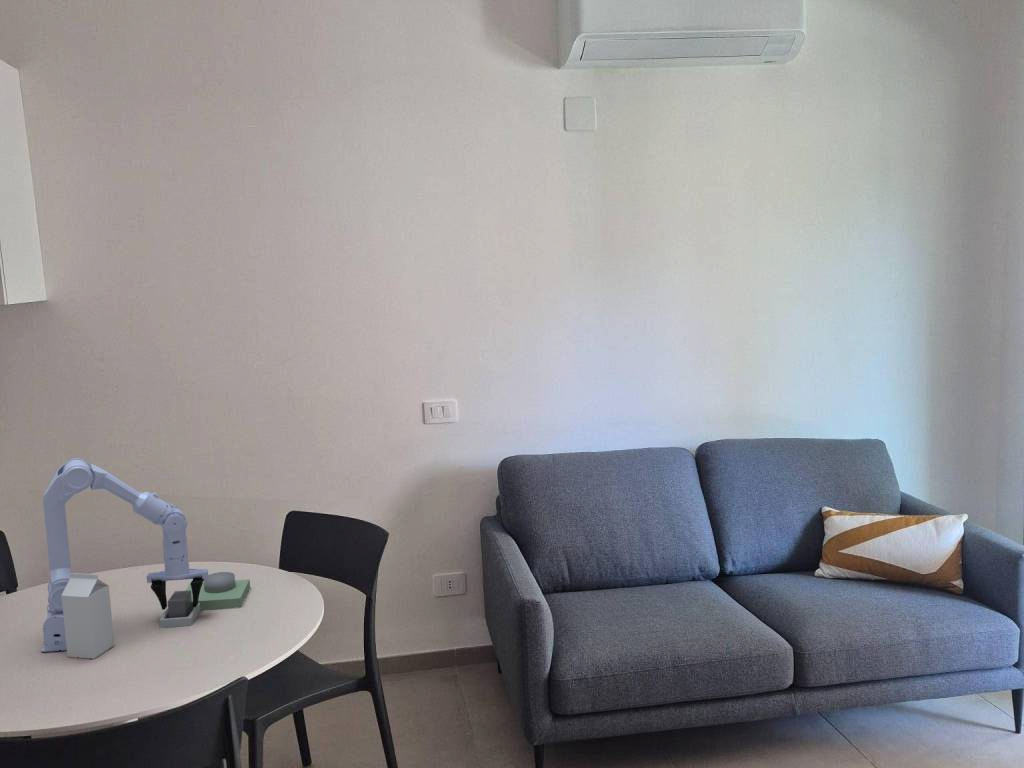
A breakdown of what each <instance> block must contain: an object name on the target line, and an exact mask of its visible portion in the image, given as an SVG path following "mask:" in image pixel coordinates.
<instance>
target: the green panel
mask: <svg viewBox="0 0 1024 768" xmlns="http://www.w3.org/2000/svg"><path fill="white" fill-rule="evenodd" d="M235 578H236V576H235V574H234V572H231V571H221V572H215V573H210V574H208V577H207V579H204V581H203V584H202V587H201V590H200V594H199V599H198V605H197V607H193V594H192V589H191V584H190V583H189V585H188V586H187V587H186V589H185V590H184V591H188V590H191V597H192V612H191V613H190V615H189V617H180V618H169V613H168V607H166V609H165V610H164V612H163V614H162V616H160V618H159V622H158V623H159V629H160V628H161V629H163V628H165V629H166V628H176V627H177V628H178V627H191V626H192V625H193V624H194V622H195V620H196V619H197V617H198V616H199V614H200V612H201V611H210V610H222V609H223V608H225V609H234V608H233V607H239V608H242V606H243V604H244V602H245V600H246V598H247V596H246V595H248V594H247V593H249V592H248V591H250V590H251V580H250V579H248V578H247V579H235ZM249 589H250V590H249ZM245 597H246V598H245ZM244 599H245V600H244ZM243 601H244V602H243ZM242 603H243V604H242ZM241 605H242V606H241ZM221 608H222V609H221ZM223 610H224V609H223Z"/></svg>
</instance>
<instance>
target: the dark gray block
mask: <svg viewBox="0 0 1024 768" xmlns="http://www.w3.org/2000/svg"><path fill="white" fill-rule="evenodd" d="M167 608H168V613H169V618H180V617H189V615H190V613H191V612H192V597H191V590H188V591H185V590H177V591H174V592H173V593H172V595H171V596H170V598H168V599H167Z"/></svg>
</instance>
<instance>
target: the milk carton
mask: <svg viewBox="0 0 1024 768" xmlns="http://www.w3.org/2000/svg"><path fill="white" fill-rule="evenodd" d="M70 576H71V578H70V580H69V582H68V584H67V585H66V587H65V589H64V591H63V593H62V595H61V596H62V606H63V616H64V626H65V635H66V645H67V650H66V654H67V657H68V658H77V657H79V658H80V659H90V658H91V659H92V660H93V659H95V658H98V657H99V656H101V655H102V654H104V653H105V652H107V651H108V650H111V648H113V647H114V646H115V639H114V627H113V618H112V608H111V606H112V605H111V596H110V587H109V586H110V585H109V584H107V583H106V582H103V581H102V580H100V579H99V577H98V574H97V573H96V574H95V573H94V574H93V573H79V572H71V573H70Z"/></svg>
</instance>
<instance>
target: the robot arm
mask: <svg viewBox="0 0 1024 768" xmlns="http://www.w3.org/2000/svg"><path fill="white" fill-rule="evenodd" d="M89 487H90V490H91V491H95V490H101V489H102V490H105V491H106V492H109V493H111V494H112V495H114V496H117V497H118V498H120V499H122V500H124V501H126V502H127V503H129V504H131V506H132V510H133V512H134V513H135V514H137V515H139V516H140V517H143V518H144V519H146V520H147V521H149V522H151V523H152V524H155V525H160V526H161V528H162V551H163V564H164V570H162V571H156V572H148V573H147V574H146V583H147V584H150V589H151V590H152V592H153V593H154V594H155V595H156V597H157V599H158V602H159V604H160V606H161V610H162V611H163V610H164V611H166V610H167V608H168V599H167V588H166V587H167V586H166V585H167V582H168V581H182V580H184V581H185V580H191V582H190V583H189V584H191V589H192V594H193V607H197V605H198V599H199V594H200V590H201V587H202V584H203V583H204V579H207V577H208V575H209V570H208V569H207V568H203V569H202V568H201V569H199V568H190V562H189V550H188V549H189V548H188V539H187V538H188V536H187V535H186V533H187V530H186V529H187V527H188V520H187V517H186V515H185V514H184V513H183V511H182V510H181V509H179V507H178V506H175V504H173V503H172V502H170V503H167V502H166V501H164V500H163V499H162V498H161V499H160V498H159V495H158V494H157V493H156V492H155V491H154V492H152V493H151V492H149V491H144V492H139V491H137V490H136V489H134V488H133V487H131V486H130V485H128V484H127V483H125V482H124V481H122V480H120V479H119V478H117V477H116V476H114V474H111V473H109V472H108V471H107V470H105V469H103V468H101V467H99V466H97V465H95V464H92V463H91V464H90V463H89V462H87V460H85V459H82V458H78V457H77V458H76V457H75V458H72V459H69V460H68V461H66V462H65V463H64V464H63V465H61V466H60V467H59V468H58V469H57V471H56V472H55V475H54V476H53V478H52V479H51V482H50V483H49V485H48V486H47V488H45V489H46V490H45V491H44V493H43V497H42V501H43V502H42V503H43V512H44V523H45V531H46V534H45V535H46V544H47V552H48V554H47V555H48V565H49V575H50V580H49V582H48V583H47V584H48V585H47V593H48V595H47V602H48V604H47V605H46V611H47V612H46V614H47V617H46V619H45V621H44V622H43V625H42V632H43V644H44V645H43V647H42V649H40V653H47V652H57V651H58V652H60V651H59V650H61V651H67V645H66V635H65V626H64V616H63V606H62V596H61V595H62V593H63V591H64V589H65V587H66V585H67V584H68V582H69V580H70V578H71V576H70V573H72V567H71V565H72V564H71V555H70V553H71V552H70V547H69V546H70V545H69V534H68V525H67V513H66V504H67V502H69V501H70V500H71V499H72V498H73V497H74V496H75V495H76V494H79V493H82V492H83V491H85V490H87V489H88V488H89Z"/></svg>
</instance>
